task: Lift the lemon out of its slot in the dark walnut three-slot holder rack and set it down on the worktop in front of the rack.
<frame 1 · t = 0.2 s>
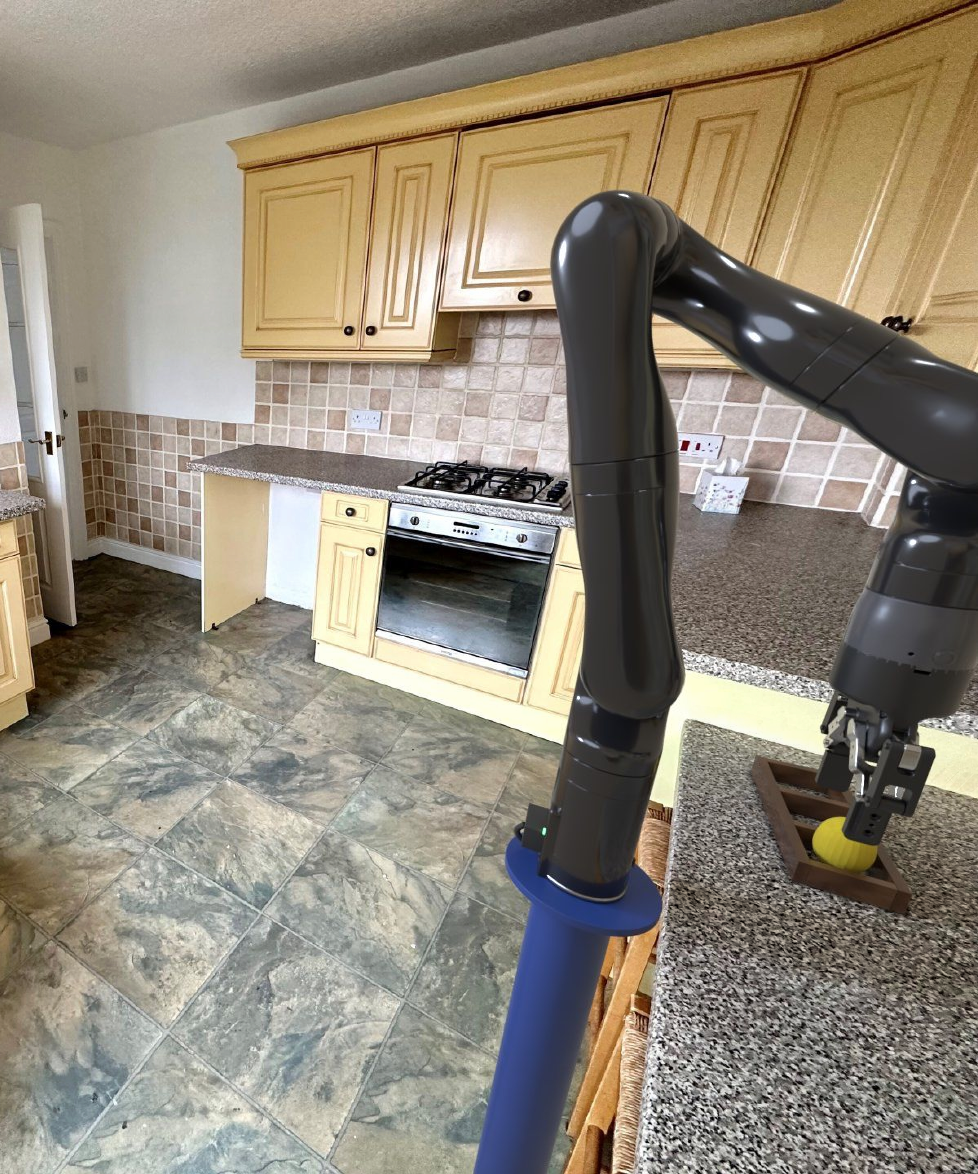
hand: (843, 812, 57), 22 cm above the countertop, tool pointing down, fingers open, 8 cm apart
rack: (815, 832, 87), on the countertop
lemon: (833, 872, 80), resting in rack
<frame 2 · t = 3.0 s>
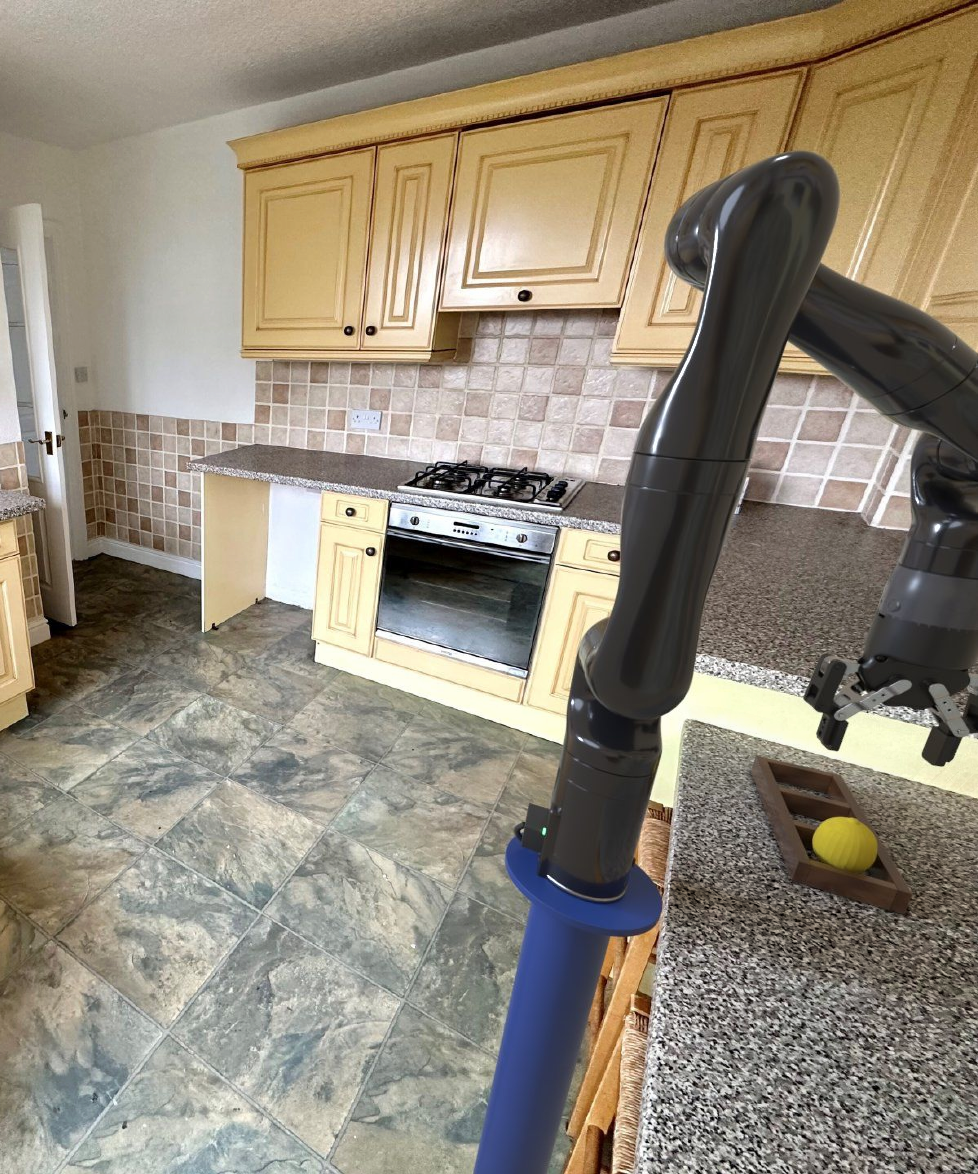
hand: (878, 754, 68), 21 cm above the countertop, tool pointing down, fingers open, 8 cm apart
nothing on the countertop moved.
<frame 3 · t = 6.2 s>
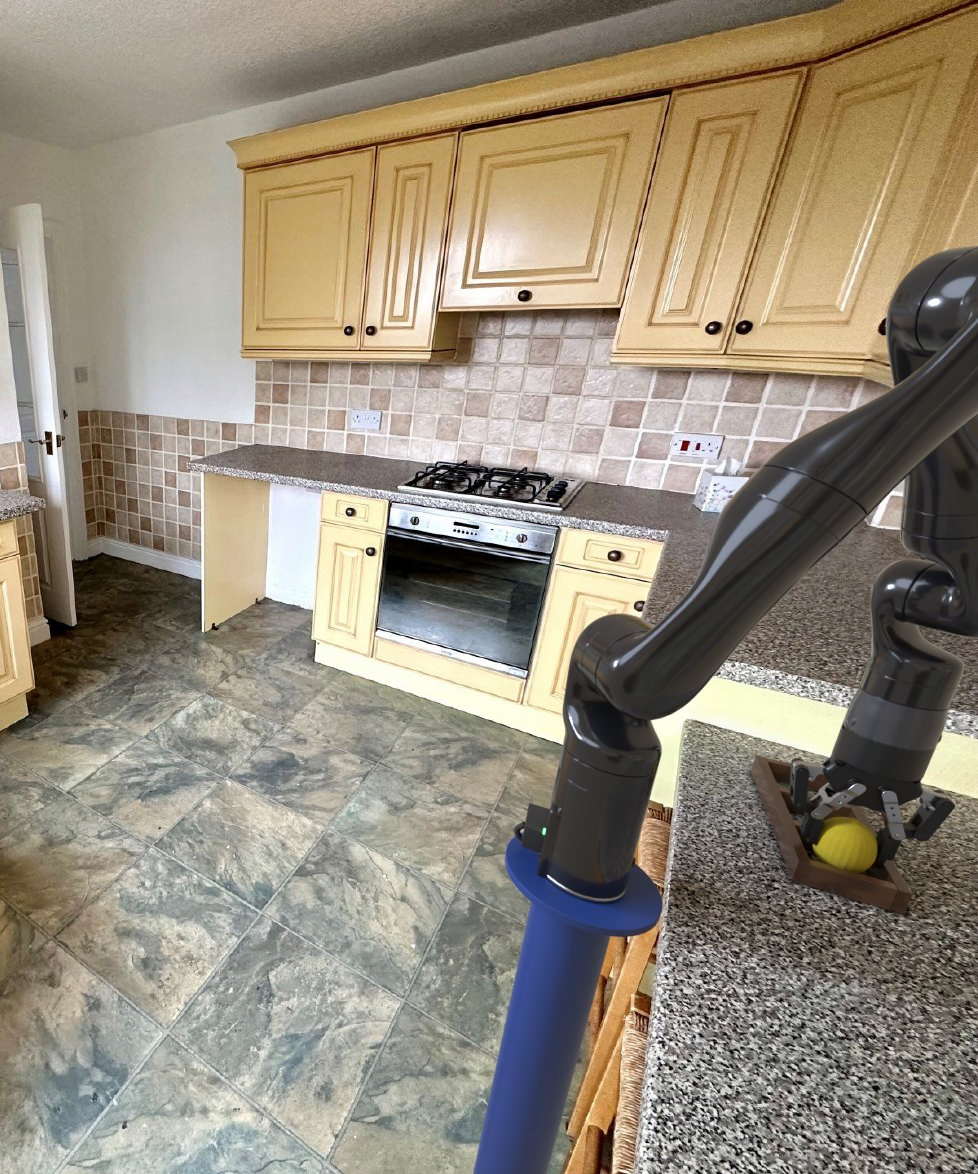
hand: (842, 848, 79), 4 cm above the countertop, tool pointing down, fingers closed on lemon, 5 cm apart
lemon: (833, 872, 80), resting in rack, touching gripper
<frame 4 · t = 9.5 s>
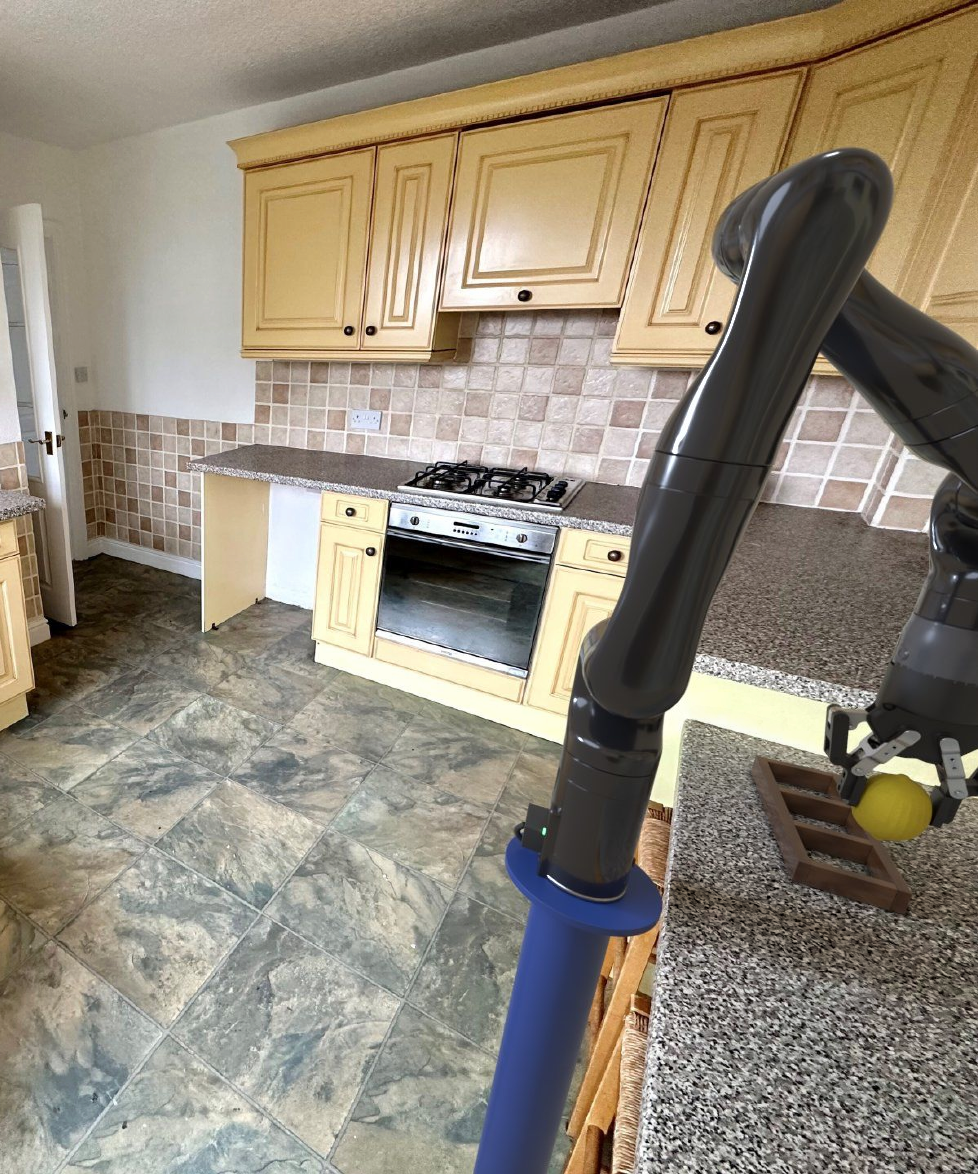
hand: (888, 811, 66), 16 cm above the countertop, tool pointing down, fingers closed on lemon, 5 cm apart
lemon: (876, 840, 67), point 13 cm above the countertop, touching gripper
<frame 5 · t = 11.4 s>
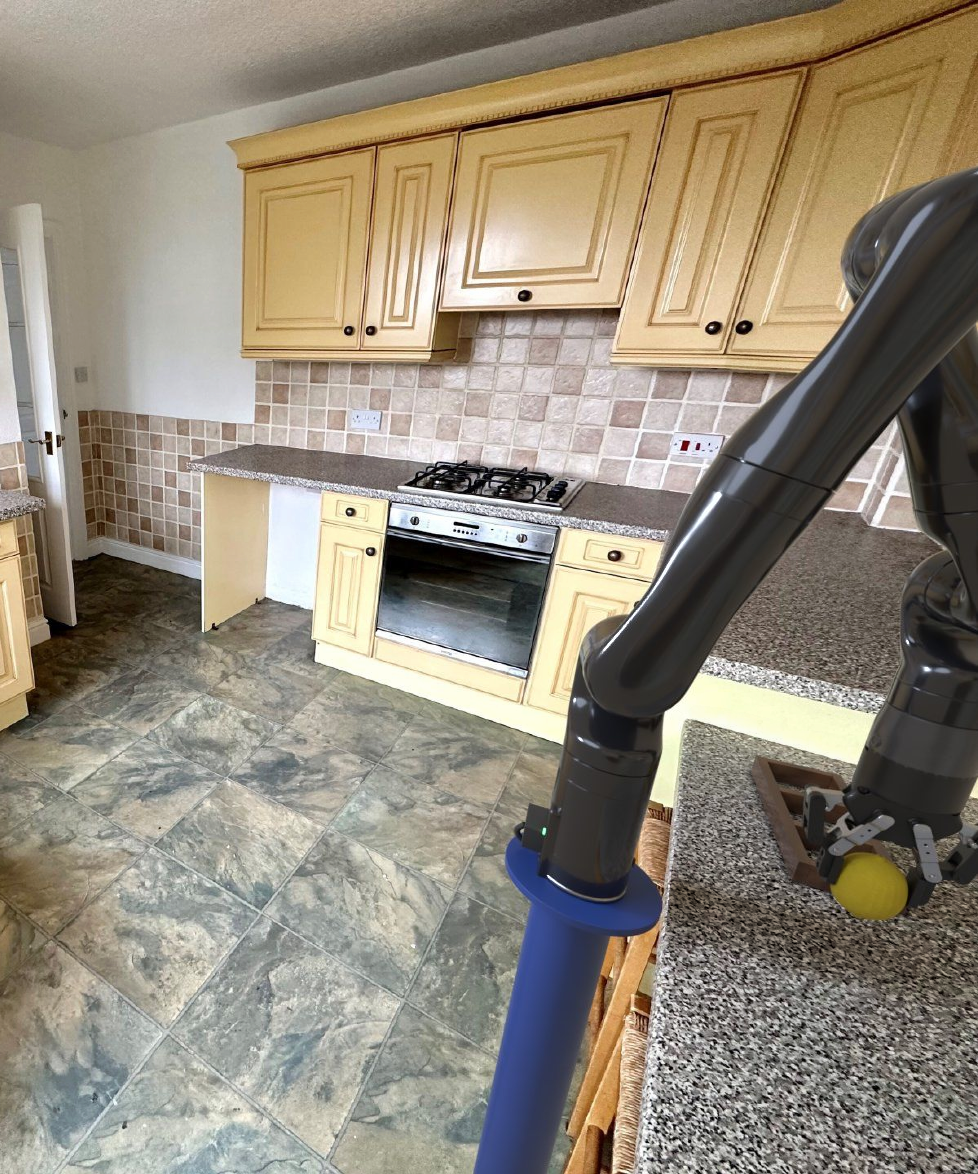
hand: (865, 890, 67), 8 cm above the countertop, tool pointing down, fingers closed on lemon, 5 cm apart
lemon: (855, 917, 68), point 4 cm above the countertop, touching gripper
when the fingers open (4 cm above the countertop, at t = 12.9 s): lemon stays where it is, on the countertop.
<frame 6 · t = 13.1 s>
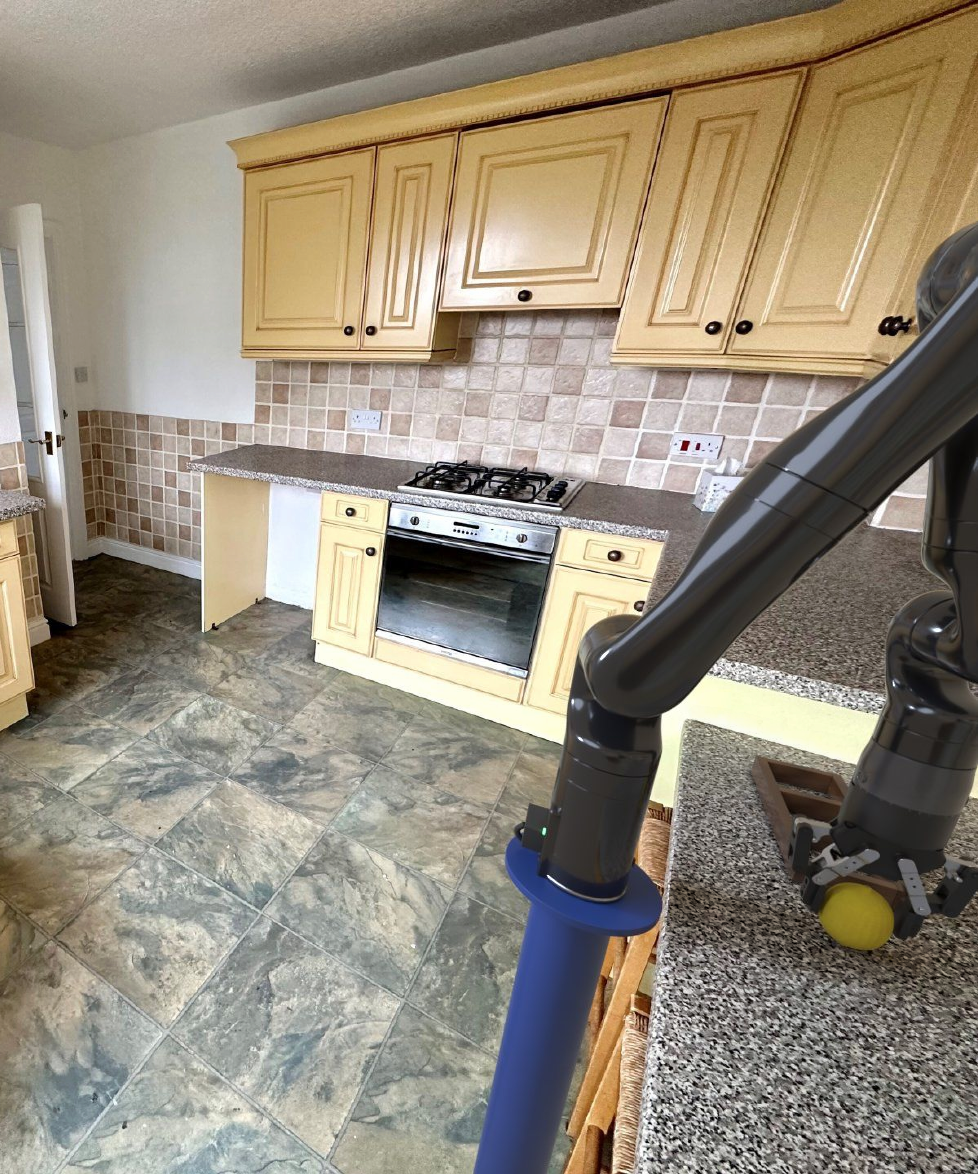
hand: (852, 919, 68), 3 cm above the countertop, tool pointing down, fingers open, 6 cm apart
lemon: (842, 946, 69), on the countertop
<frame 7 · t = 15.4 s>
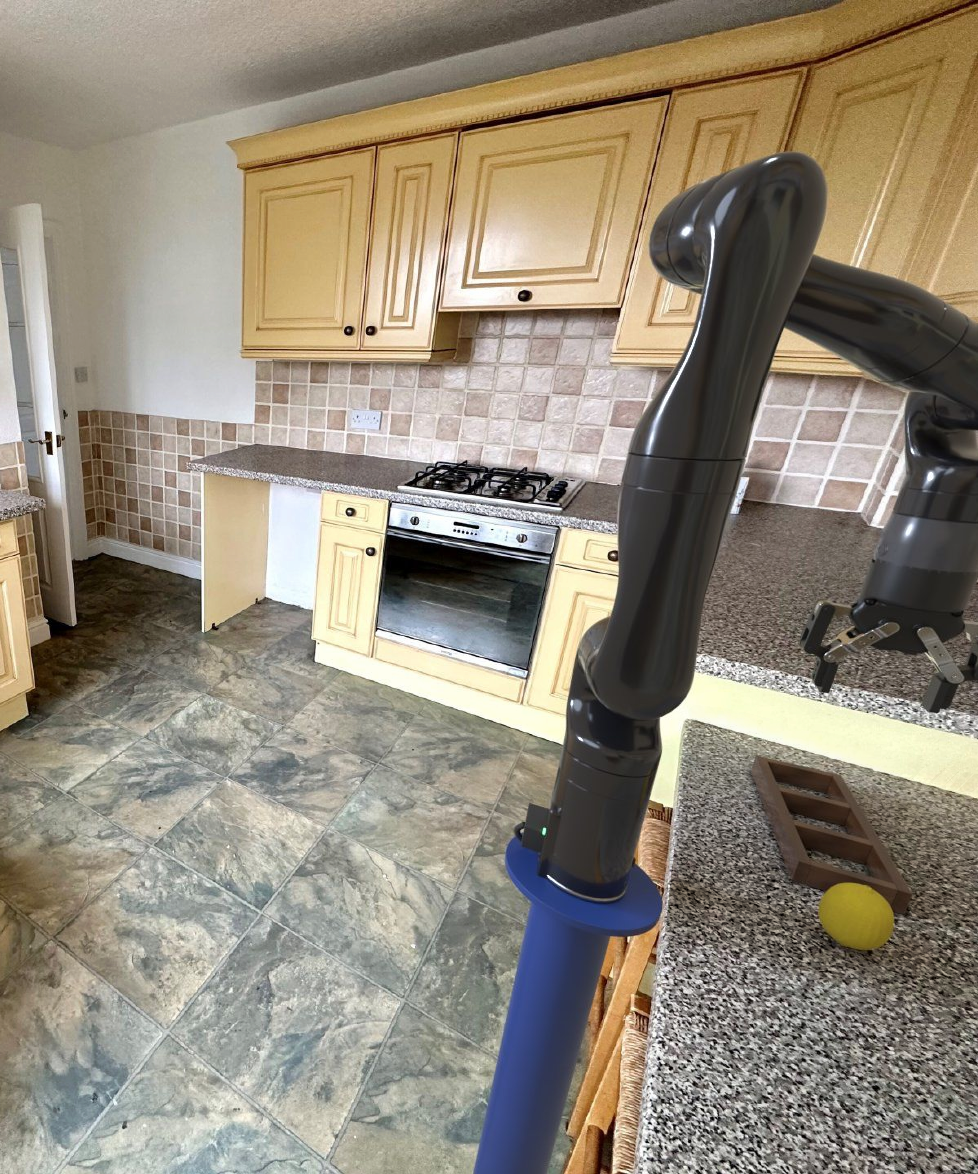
hand: (873, 699, 70), 25 cm above the countertop, tool pointing down, fingers open, 8 cm apart
nothing on the countertop moved.
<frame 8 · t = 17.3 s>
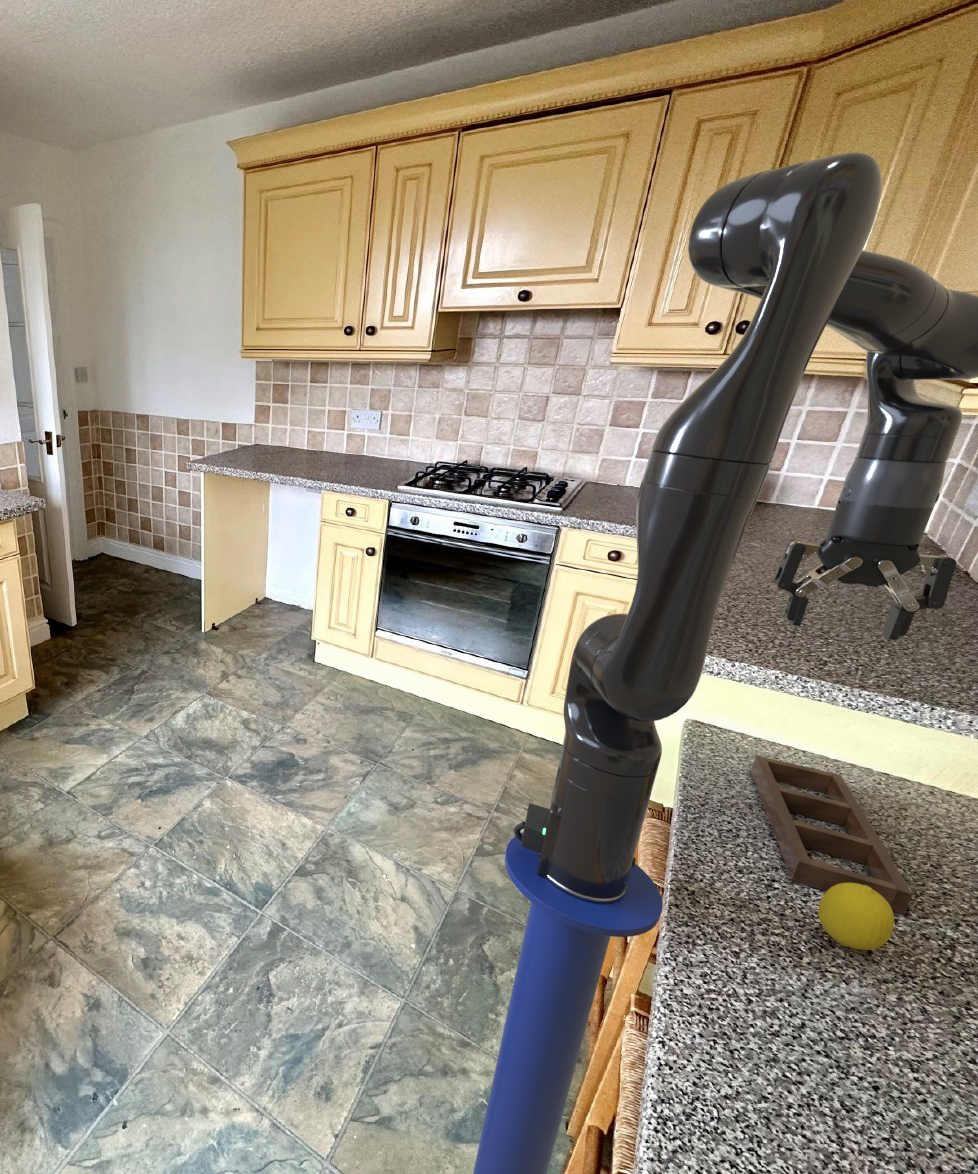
hand: (840, 630, 77), 30 cm above the countertop, tool pointing down, fingers open, 8 cm apart
nothing on the countertop moved.
at the end: lemon inside the target area (0.1 cm from its centre), on the countertop; the gripper is holding nothing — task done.
